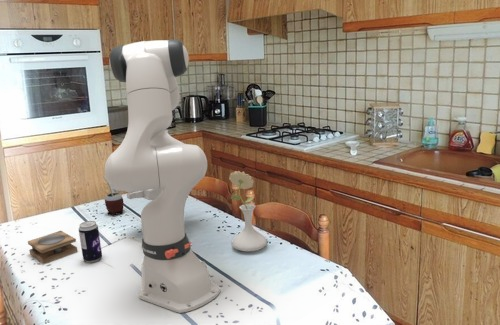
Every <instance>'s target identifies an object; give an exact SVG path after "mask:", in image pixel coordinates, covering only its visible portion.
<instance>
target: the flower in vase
mask: <svg viewBox="0 0 500 325" xmlns="http://www.w3.org/2000/svg"><path fill="white" fill-rule="evenodd" d="M228 179H229V180H230V183H231V184H233V186H235V187H236V188H239V190H238V195H237V194H232V195H231V196H230V198H229V199H230V200H233V201H234V200H235V201H240V200H241V202H242V204H241V205H239V209H240V210H241V211H242V214H243V218H244V228H243V229H242V230H241V231H240V232H239V233H238V234H237V235H235V236H234V237H233V238H232V241H231V246H233V248H234V249H235V250H236V251H237V250H238V251H241V252H255V251H258V250H261V249H263V248H265V246H267V244H268V240H267V238H266V236H265V235H264V234H262V233H261V232H259V231H258V230H256V229H255V228H254V226H253V219H252V218H253V213H254V210H255V208H256V205H255V204H252V203H250V202H251V201H253V199H254V198H255V196H252V197H248V198H247V199H246V200H245V201H244V200H243V198H242V196H241V189H243V190H247V189H248V190H249V189H250V188H253V187H254V183H255V182H254V179H253V177H252V176H251V175H250V174H249V173H245V171H242V172H241V171H240V170H235V171H234V172H231V173H230V174H229V178H228Z"/></svg>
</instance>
